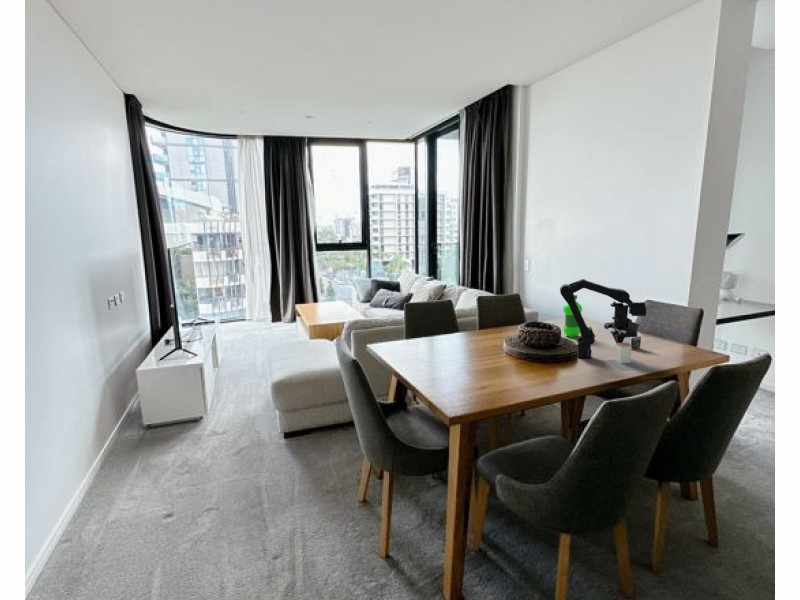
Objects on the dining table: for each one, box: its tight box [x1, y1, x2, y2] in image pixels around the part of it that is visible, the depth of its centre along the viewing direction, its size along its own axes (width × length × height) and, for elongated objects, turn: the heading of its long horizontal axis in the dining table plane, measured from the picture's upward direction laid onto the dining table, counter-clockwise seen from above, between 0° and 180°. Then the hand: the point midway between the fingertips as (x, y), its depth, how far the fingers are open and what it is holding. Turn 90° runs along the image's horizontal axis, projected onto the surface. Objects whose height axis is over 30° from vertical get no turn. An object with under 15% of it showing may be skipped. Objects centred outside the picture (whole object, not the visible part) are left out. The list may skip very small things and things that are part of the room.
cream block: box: [615, 342, 632, 363], centre depth 199 cm, size 5×4×9 cm
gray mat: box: [605, 358, 653, 371], centre depth 196 cm, size 14×15×1 cm
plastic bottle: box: [562, 294, 583, 338], centre depth 247 cm, size 10×10×25 cm
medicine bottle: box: [622, 328, 642, 350], centre depth 221 cm, size 7×7×12 cm
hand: (619, 346), depth 202 cm, fingers closed
